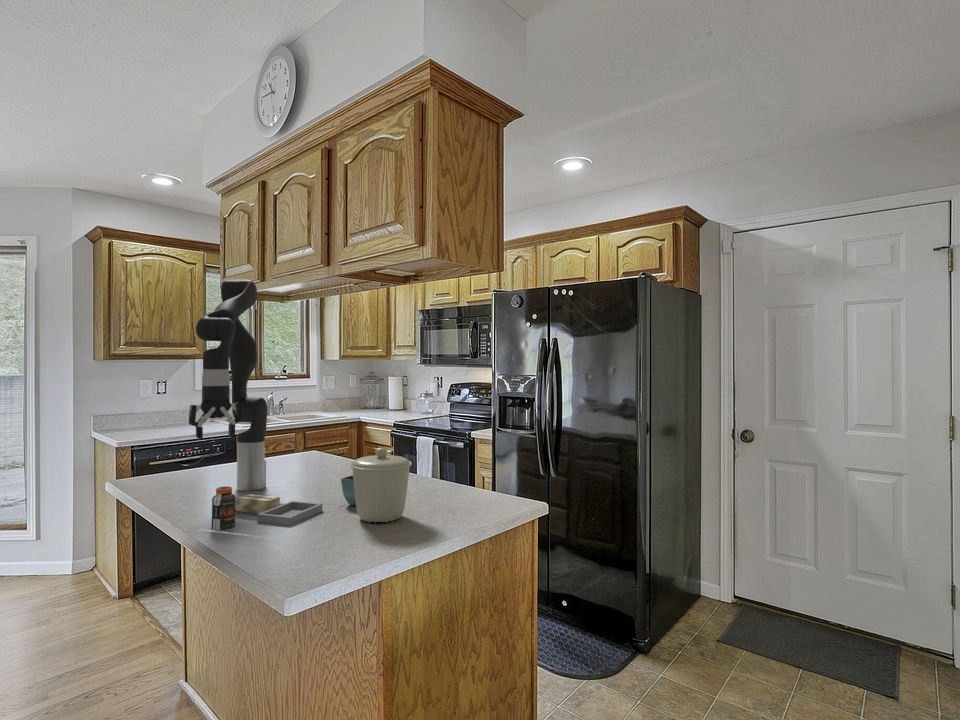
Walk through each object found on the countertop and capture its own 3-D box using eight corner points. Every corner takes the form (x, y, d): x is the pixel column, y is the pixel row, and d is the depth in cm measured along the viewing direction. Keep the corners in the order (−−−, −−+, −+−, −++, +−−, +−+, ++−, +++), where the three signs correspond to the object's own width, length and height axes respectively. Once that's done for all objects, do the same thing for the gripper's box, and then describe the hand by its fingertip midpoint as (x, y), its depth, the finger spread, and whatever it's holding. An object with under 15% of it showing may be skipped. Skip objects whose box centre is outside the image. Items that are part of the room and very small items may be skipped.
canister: (355, 530, 152) (356, 454, 152) (344, 513, 168) (345, 444, 168) (418, 523, 159) (419, 450, 159) (402, 508, 176) (402, 442, 176)
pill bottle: (219, 532, 149) (220, 491, 149) (207, 529, 152) (207, 488, 152) (239, 527, 154) (240, 486, 154) (226, 523, 157) (227, 484, 157)
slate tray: (292, 509, 173) (292, 500, 173) (322, 512, 170) (322, 503, 170) (257, 523, 158) (257, 514, 158) (289, 527, 154) (289, 517, 154)
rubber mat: (259, 502, 180) (259, 501, 180) (295, 506, 176) (295, 505, 176) (217, 517, 163) (217, 515, 163) (256, 521, 159) (256, 520, 159)
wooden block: (236, 510, 169) (236, 497, 169) (247, 506, 174) (247, 493, 174) (268, 514, 165) (268, 500, 165) (279, 510, 170) (279, 496, 170)
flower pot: (339, 505, 177) (340, 478, 177) (357, 499, 185) (358, 473, 185) (361, 509, 173) (361, 481, 173) (378, 503, 181) (379, 476, 181)
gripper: (236, 383, 172) (236, 434, 172) (186, 384, 163) (186, 439, 163) (244, 384, 167) (244, 437, 167) (193, 385, 157) (193, 442, 157)
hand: (215, 438), depth 165 cm, fingers open, 8 cm apart
